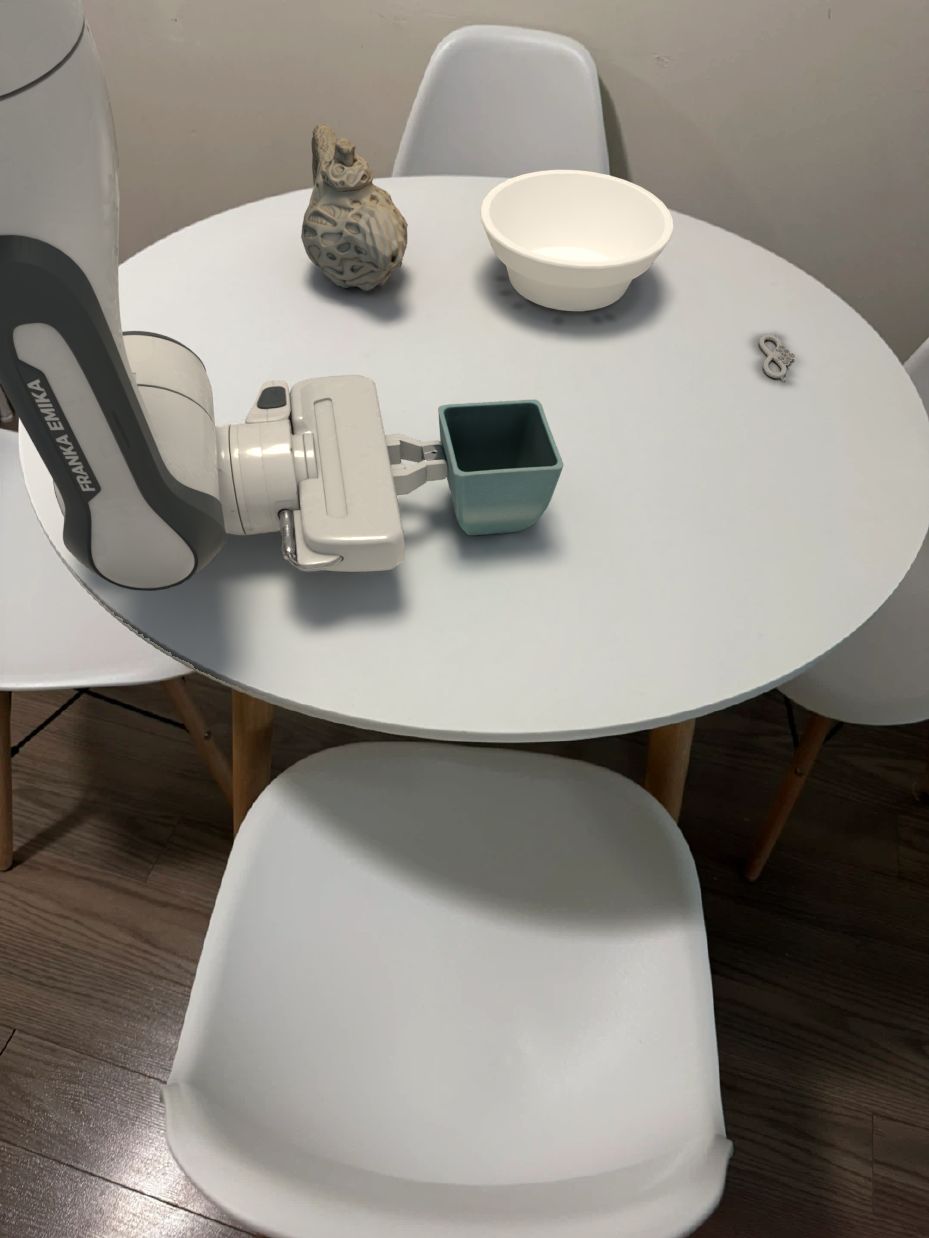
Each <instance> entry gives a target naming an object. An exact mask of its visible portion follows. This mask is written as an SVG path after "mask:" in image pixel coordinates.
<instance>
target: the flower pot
mask: <svg viewBox="0 0 929 1238" xmlns="http://www.w3.org/2000/svg"><path fill="white" fill-rule="evenodd" d="M437 413H438V424H439V439H440V440H439V441H440V442H441V443H442V446H443V450H444V455H445V458H446V462H447V466H448V476H447V477H446V481H447V484H448V488H449V492H450V497H451V501H452V505H453V510H454V514H455V517H456V520H457V523H458V525H459V527H460V528H461V530H462V531H463V532H464V533H465V534H466V535H467V536H481V535H482V536H483V535H493V534H505V533H506V534H507V533H517V532H523V531H524V530H525V529H527V528H529V527H530V526H532V525H533V524H535V523H536V522H537V521H538V520H539V519H540V518H541V517H542V516H543V514H544V513H545V512H546V510H547V509H548V507H549V505H550V503H551V501H552V498H553V495H554V493H555V490H556V489H557V485H558V482H559V479H560V477H561V474H562V471H563V469H564V465H565V464H564V462H563V458H562V456H561V454H560V451H559V449H558V446H557V443H556V441H555V439H554V435H553V433H552V431H551V427H550V425H549V422H548V419H547V416H546V413H545V410H544V407H543V404H542V403H541V402H540V401H539V400H538V399H517V400H500V401H499V400H498V401H483V402H467V403H466V402H465V403H448V404H442V405H440V406H438V409H437Z"/></svg>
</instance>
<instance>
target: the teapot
mask: <svg viewBox="0 0 929 1238" xmlns="http://www.w3.org/2000/svg"><path fill="white" fill-rule="evenodd" d="M310 142H311V143H310V145H311V154H312V156H311V157H312V158H311V159H312V160H311V162H312V163H311V172H312V183H313V188H312V192H311V195H310V198H309V202H308V205H307V207H306V209H305V212H304V215H303V220H302V224H301V235H300V238H301V242H302V244H303V248H304V251H305V254H306V255H307V257H308V259H309V260H310V261H311V262H312V263H313V264H314V266H318V267H319V269H320V271H321V272H322V274H323V275H325V276H326V277H327V278H328V279H329V280H330V281H332V282H333V283H334V284H335V286H337V287H338V288H340V289H343V288H352V287H357V288H359V289H361V290H362V291H364V292H367V291H371V290H372V289H374V288H376V287H377V286H379V287H383V286H385V285H386V284H387V281H388V280H389V279H390V277H391V276H392V274H393V272H394V271H395V270H397V269H399V268H400V267H402V264H403V260H404V259H403V258H404V256H405V253H406V250H407V248H408V247H407V246H408V226H409V224H408V222H407V219H405V217H404V216H403V215H402V213H401V211H400V210H399V208H397V206H396V205H395V203H394V202H393V199H392V195H391V194H390V193H389V192H388V191H387V190H385V189H383V188H381V187H380V186H377V185H375V184H374V183H373V180H374V177H375V176H374V174H373V170H372V168H371V166H370V164H369V163H368V161H367V160H366V159H365V158H363V157H362V156H361V155H358V154H357V153H355V151H356V147H357V146H356V145H355V144H354V143H353V142H351V140H349V139H348V138H347V137H346V136H342V137H340V138H339V139H338V137H337V135H336V133H335V132H334V130H333V128H332V127H330V125H328V124H316V125H315V126H314V128H313V130H312V137H311V141H310Z"/></svg>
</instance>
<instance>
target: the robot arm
mask: <svg viewBox="0 0 929 1238" xmlns="http://www.w3.org/2000/svg"><path fill="white" fill-rule="evenodd" d="M101 59H102V58H101V56H100V53H99V49H98V46H97V43H96V40H95V37H94V33H93V30H92V28H91V24H90V22H89V20H88V17H87V14H86V12H85V9H84V6H83V2H82V0H0V386H1V387H2V390H3V391H4V392H5V394H6V397H7V398H8V400H9V402H10V404H11V406H12V407H13V410H14V412H15V413H16V415H17V416H18V418H19V420H20V422H21V424H22V426H23V428H24V429H25V431H26V433H27V435H28V436H29V439H30V440H31V442H32V444H33V446H34V448H35V449H36V451H37V453H38V455H39V456H40V458H41V460H42V462H43V464H44V466H45V467H46V469H47V472H48V473H49V475H50V476H51V478H52V485H53V490H54V495H55V499H56V502H57V504H58V506H59V509H60V512H61V515H62V516H63V527H62V542H63V544H64V546H65V548H66V550H67V551H68V552H69V553H70V554H71V555H72V556H73V557H74V558H75V559H76V560H77V561H78V562H79V563H80V564H82V566H83V567H84V568H86V569H88V570H89V571H90V572H92V573H93V574H94V575H96V576H97V577H99V578H101V579H102V580H104V581H106V582H107V583H110V584H112V585H113V586H116V587H120V588H122V589H127V590H132V591H141V592H156V591H163V590H167V589H171V588H175V587H177V586H180V585H181V584H184V583H185V582H187V581H188V580H190V579H192V578H193V577H195V576H196V575H197V574H198V573H199V572H201V571H202V570H203V569H204V568H206V566H208V565H209V563H211V562H212V560H214V558H215V557H216V556H218V554H219V553H220V552H221V551H222V549H223V548H224V546H225V545H226V541H227V534H231V535H236V536H246V535H247V536H251V535H258V534H259V535H260V534H266V533H276V532H277V533H278V532H280V536H281V545H280V549H281V550H280V551H281V554H282V556H283V558H284V559H285V560H286V561H288V562H289V564H291V565H292V566H293V567H295V568H297V569H298V570H300V571H302V572H317V571H328V572H329V571H330V572H379V571H382V572H383V571H390V570H393V569H395V568H396V567H398V566H399V565H400V564H402V563H403V562H404V561H405V557H406V556H405V553H406V552H405V551H406V549H405V534H404V528H403V524H402V517H401V512H400V506H399V501H398V496H402V495H404V496H405V495H409V494H411V493H412V492H414V491H415V490H417V489H418V488H420V487H421V486H423V485H425V484H426V483H427V482H434V481H442V480H446V479H447V476H448V466H447V462H446V458H445V455H444V450H443V446H442V443H441V441H440V440H428V441H427V440H426V441H421V440H419V439H416V438H413V437H409V436H407V435H403V434H402V433H401V434H400V433H394V434H385V433H386V432H385V428H384V423H383V417H382V411H381V407H380V402H379V401H380V400H379V396H378V391H377V387H376V382H375V381H374V380H373V379H371V378H369V377H366V376H364V375H359V374H348V375H347V374H343V375H330V376H321V377H313V378H311V377H310V378H306V379H303V380H300V381H298V382H296V383H295V384H293V385H292V386H291V388H289V384H288V382H287V381H286V380H269V381H266V382H264V383H263V384H262V385H261V387H260V388H259V392H258V394H257V396H256V398H255V400H254V403H253V404H252V407H251V408H250V410H249V411H248V413H247V415H245V419H244V423H243V422H242V423H233V424H227V425H223V426H222V425H221V426H216V421H215V418H216V417H215V407H214V406H215V405H214V396H213V395H214V394H213V387H212V384H211V380H210V378H209V376H208V373H207V369H206V366H205V364H204V362H203V360H202V359H201V358H200V357H199V356H198V355H197V354H196V353H195V351H193V350H192V349H191V348H189V347H188V346H186V345H185V344H184V343H183V342H180V341H179V340H177V339H174V338H172V337H170V336H167V335H164V334H161V333H157V332H152V331H146V330H145V331H144V330H127V331H126V330H125V331H123V328H122V320H121V307H120V306H121V305H120V293H119V292H120V288H119V285H120V284H119V244H120V243H119V242H120V241H119V238H120V237H119V236H120V233H119V232H120V159H119V150H118V142H117V134H116V126H115V121H114V114H113V110H112V104H111V103H112V102H111V99H110V92H109V89H108V85H107V79H106V76H105V72H104V67H103V63H102V60H101ZM402 460H403V461H409V462H414V464H413V465H410V466H408V467H406V465H405V464H404V463H402ZM296 559H297V560H296Z"/></svg>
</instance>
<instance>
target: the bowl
mask: <svg viewBox="0 0 929 1238" xmlns="http://www.w3.org/2000/svg"><path fill="white" fill-rule="evenodd" d="M479 216H480V222H481V224H482V226H483V227H482V228H483V229H484V231H485V234H486V237H487V240H488V242H489V245H490V246H491V249H492V250H493V252H494V255H495V256H496V257H497V258H498V259H499V260H500V261H501V262H502V263H503V265H505V266H506V270H507V275H508V278H509V281H510V284H511V286H512V288H514V290H515V291H516V292H517V293H518V294H520V295H521V296H522V297H523V298H525V299H526V300H528V301H530V302H532V303H534V304H536V305H539V306H542V307H544V308H548V309H553V310H558V311H566V312H587V311H594V310H599V309H602V308H605V307H608V306H610V305H612V304H614V303H616V302H617V301H618V300H620V299H621V298H622V297H623V296H624V295H625V294H626V291H627V290H628V288H629V286H630V284H631V283H632V281H633V280H634V279H637V278H638V277H640V276H641V275H642V274H644V273H645V272H646V271H648V269H649V268H650V267H651V266H652V265H653V264H654V263H655V262H656V260H657V259H658V257H659V256H660V255H661V253H662V252H663V251H664V249H665V248H666V247H667V245H668V244H669V243H670V241H671V239H672V237H673V234H674V223H675V222H674V220H673V217H672V213H671V211H670V210H669V208H667V206H666V205H665V203H664V202H663V201H662V200H661V199H660V198H658V197H657V196H656V195H654V194H653V193H651V191H649V190H647V189H645V188H644V187H642V186H640V185H638V184H635V183H633V182H631V181H628V180H627V179H623V178H621V177H620V178H619V177H616V176H613V175H609V174H605V173H601V172H600V173H599V172H596V171H588V170H579V169H578V170H577V169H550V170H548V169H547V170H537V171H533V172H527V173H524V174H520V175H518V176H514V177H511V178H509V179H507V180H504V181H503V182H501V183H499V184H497V185H496V186H495V187H493V188H492V189H491V190H489V192H488V193H487V195H486V196H485V197H484V198H483V200H482V203H481V206H480V209H479Z"/></svg>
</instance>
